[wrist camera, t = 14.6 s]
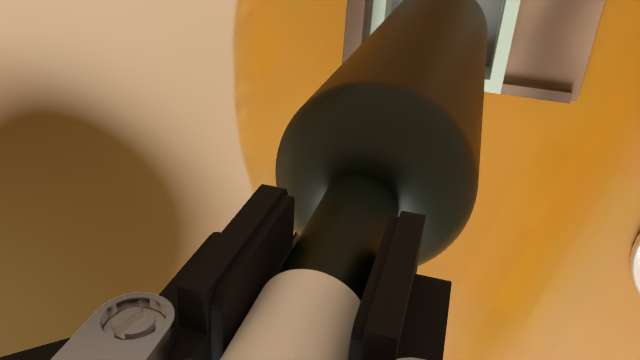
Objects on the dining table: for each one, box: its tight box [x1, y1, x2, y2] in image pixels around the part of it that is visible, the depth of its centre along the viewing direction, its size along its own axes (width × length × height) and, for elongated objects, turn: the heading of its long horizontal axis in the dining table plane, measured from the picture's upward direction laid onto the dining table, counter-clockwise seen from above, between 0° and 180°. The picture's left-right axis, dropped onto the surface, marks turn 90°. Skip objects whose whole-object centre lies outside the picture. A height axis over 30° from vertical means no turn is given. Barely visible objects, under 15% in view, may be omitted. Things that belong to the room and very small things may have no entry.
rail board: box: [342, 0, 605, 103], centre depth 40 cm, size 17×12×9 cm
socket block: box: [370, 0, 521, 94], centre depth 41 cm, size 10×10×4 cm
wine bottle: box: [220, 0, 488, 360], centre depth 21 cm, size 6×6×30 cm
